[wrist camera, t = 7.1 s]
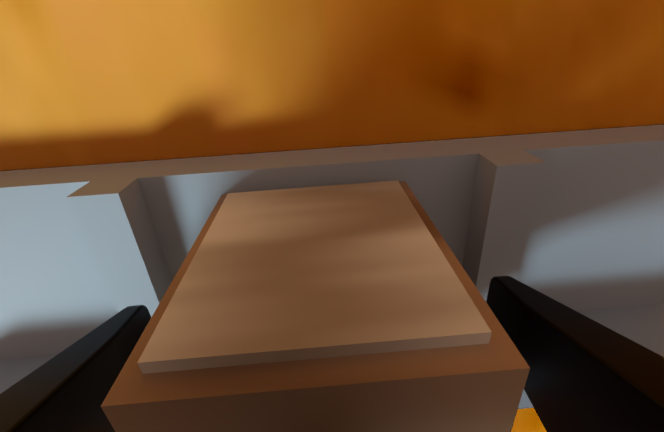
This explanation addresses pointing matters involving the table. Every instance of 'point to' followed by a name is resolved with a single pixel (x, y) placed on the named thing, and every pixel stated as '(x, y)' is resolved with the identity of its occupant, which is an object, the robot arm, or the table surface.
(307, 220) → the cabinet block
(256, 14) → the table surface
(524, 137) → the grey slotted rack
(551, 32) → the table surface
